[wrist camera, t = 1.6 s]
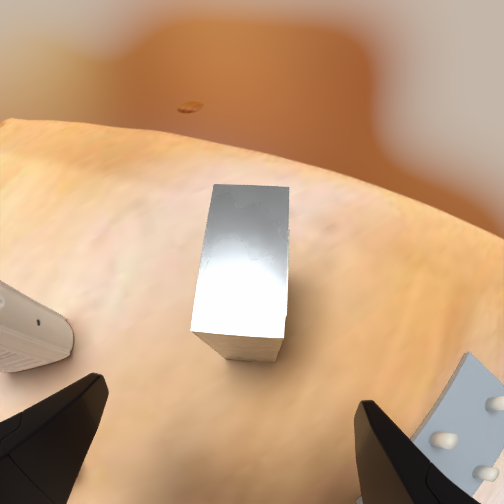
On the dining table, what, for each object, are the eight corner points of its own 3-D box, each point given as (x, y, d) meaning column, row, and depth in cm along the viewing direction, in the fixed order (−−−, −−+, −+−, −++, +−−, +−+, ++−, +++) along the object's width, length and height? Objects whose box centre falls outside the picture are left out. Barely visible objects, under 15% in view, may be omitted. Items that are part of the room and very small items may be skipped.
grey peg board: (427, 542, 13) (444, 554, 10) (354, 501, 16) (367, 516, 13) (519, 407, 17) (541, 405, 14) (464, 353, 20) (486, 346, 17)
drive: (276, 362, 21) (287, 338, 11) (225, 358, 22) (190, 330, 12) (281, 273, 24) (292, 187, 14) (234, 270, 24) (213, 184, 15)
